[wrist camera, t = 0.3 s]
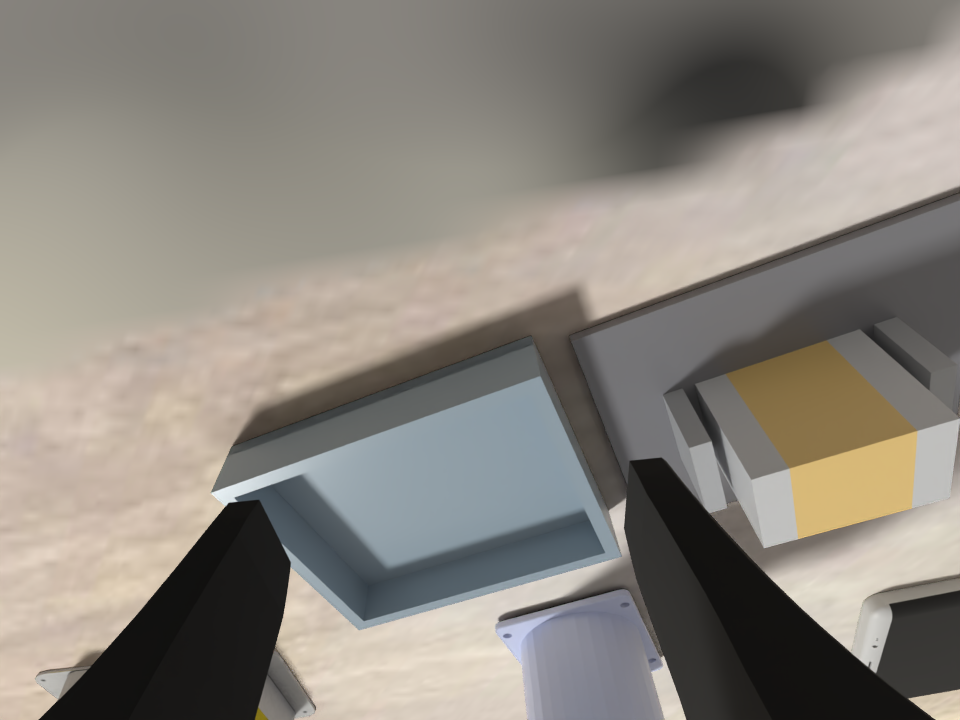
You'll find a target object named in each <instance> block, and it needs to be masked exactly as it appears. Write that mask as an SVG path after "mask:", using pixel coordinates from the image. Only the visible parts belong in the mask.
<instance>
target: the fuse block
mask: <svg viewBox="0 0 960 720" xmlns="http://www.w3.org/2000/svg"><path fill="white" fill-rule="evenodd" d="M859 329H860V330H861V331H862V332H864V333H865V334H866V335H867V336H868V337H869V338H870V339H871V340H873V341H874V342H875V343H876V344H877V345H878V346H879V347H881V348H882V349H883V350H884V351H885V352H886V353H887V354H888V355H890V356H891V357H892V358H893V359H894V360H895V361H896V362H897V363H899V364H900V365H901V366H902V367H903V368H904V369H905V370H906V371H908V372H909V373H910V374H911V375H912V376H913V377H914V378H915V379H917V380H918V381H919V382H920V383H921V384H922V385H923V386H924V387H926V388H927V389H928V390H929V391H930V392H931V393H932V394H933V395H935V396H936V397H937V398H938V399H939V400H940V401H941V402H943V403H944V404H945V405H946V406H947V407H948V408H949V409H950V410H952V411H953V412H954V413H955V414H956V415H957V414H958V407H959V399H960V193H958V194H955V195H953V196H950V197H947V198H944V199H942V200H939V201H936V202H933V203H931V204H928V205H925V206H922V207H920V208H917V209H914V210H912V211H909V212H906V213H903V214H901V215H898V216H895V217H892V218H890V219H887V220H884V221H881V222H879V223H876V224H873V225H871V226H868V227H865V228H862V229H860V230H857V231H854V232H851V233H849V234H846V235H843V236H840V237H838V238H835V239H832V240H829V241H827V242H824V243H821V244H819V245H816V246H813V247H810V248H808V249H805V250H802V251H799V252H797V253H794V254H791V255H788V256H786V257H783V258H780V259H778V260H775V261H772V262H769V263H767V264H764V265H761V266H758V267H756V268H753V269H750V270H747V271H745V272H742V273H739V274H737V275H734V276H731V277H728V278H726V279H723V280H720V281H717V282H715V283H712V284H709V285H706V286H704V287H701V288H698V289H696V290H693V291H690V292H687V293H685V294H682V295H679V296H676V297H674V298H671V299H668V300H665V301H663V302H660V303H657V304H654V305H652V306H649V307H646V308H644V309H641V310H638V311H635V312H633V313H630V314H627V315H624V316H622V317H619V318H616V319H613V320H611V321H608V322H605V323H603V324H600V325H597V326H594V327H592V328H589V329H586V330H583V331H581V332H578V333H575V334H572V335H570V336H569V337H570V340H571V343H572V345H573V348H574V350H575V353H576V355H577V358H578V361H579V363H580V366H581V368H582V371H583V373H584V376H585V378H586V381H587V384H588V386H589V389H590V391H591V394H592V396H593V399H594V401H595V404H596V407H597V409H598V412H599V414H600V417H601V419H602V422H603V425H604V427H605V430H606V432H607V435H608V437H609V440H610V442H611V445H612V448H613V450H614V453H615V455H616V458H617V460H618V463H619V465H620V468H621V471H622V473H623V476H624V478H625V481H626V483H627V485H628V472H629V461H631V460H641V459H650V458H660V457H662V458H663V459H664V460H666V461H667V463H668V464H669V465H670V466H671V468H672V469H673V470H674V472H675V473H676V474H677V475H678V477H679V478H680V479H681V480H682V481H683V483H684V484H685V485H686V486H687V488H688V489H689V490H690V491H691V492H692V494H693V495H694V496H695V497H696V498H697V500H698V501H699V502H700V503H701V504H702V505H703V507H704V508H705V509H706V510H707V511H708V512H709V513H712V512H716V511H719V510H723V509H726V508H727V503H731V502H734V501H737V500H738V499H737V497H736V496H735V494H734V492H733V490H732V488H731V486H730V484H729V483H728V481H727V479H726V477H725V475H724V473H723V472H722V470H721V468H720V466H719V464H718V462H717V460H716V458H715V453H714V449H713V445H712V441H711V439H710V437H709V436H708V434H707V432H706V428H705V424H704V420H703V415H702V411H701V407H700V403H699V399H698V395H697V391H696V386H695V384H697V383H700V382H703V381H706V380H709V379H712V378H715V377H718V376H721V375H724V374H727V373H730V372H733V371H736V370H739V369H742V368H745V367H748V366H751V365H754V364H757V363H760V362H763V361H766V360H769V359H772V358H775V357H778V356H781V355H784V354H787V353H790V352H793V351H796V350H799V349H802V348H805V347H808V346H811V345H814V344H817V343H820V342H823V341H826V340H829V339H832V338H835V337H838V336H841V335H844V334H847V333H850V332H853V331H856V330H859Z"/></svg>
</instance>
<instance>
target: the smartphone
mask: <svg viewBox="0 0 960 720" xmlns="http://www.w3.org/2000/svg"><path fill="white" fill-rule="evenodd" d="M851 653H852V654H853V655H854V656H855V657H857V658H858V659H859V660H860V661H862V662H863V663H864V664H865V665H866V666H868V667H869V668H870V669H871V670H872V671H874V672H875V673H876V674H877V675H878V676H880V677H881V678H882V679H883V680H884V681H886V682H887V683H888V684H889V685H891V686H892V687H893V688H894V689H896V690H897V691H898V692H900V693H901V694H902V695H903V696H905V697H906V698H913V697H918V696H924V695H930V694H936V693H942V692H947V691H953V690H959V689H960V578H956V579H950V580H945V581H940V582H934V583H929V584H924V585H919V586H913V587H908V588H903V589H898V590H892V591H887V592H882V593H877V594H874V595H872V596H870V597H868V598H866V599H865V600H864V601H863V603H862V607H861V611H860V616H859V620H858V624H857V629H856V633H855V637H854V642H853V646H852V650H851Z"/></svg>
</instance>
